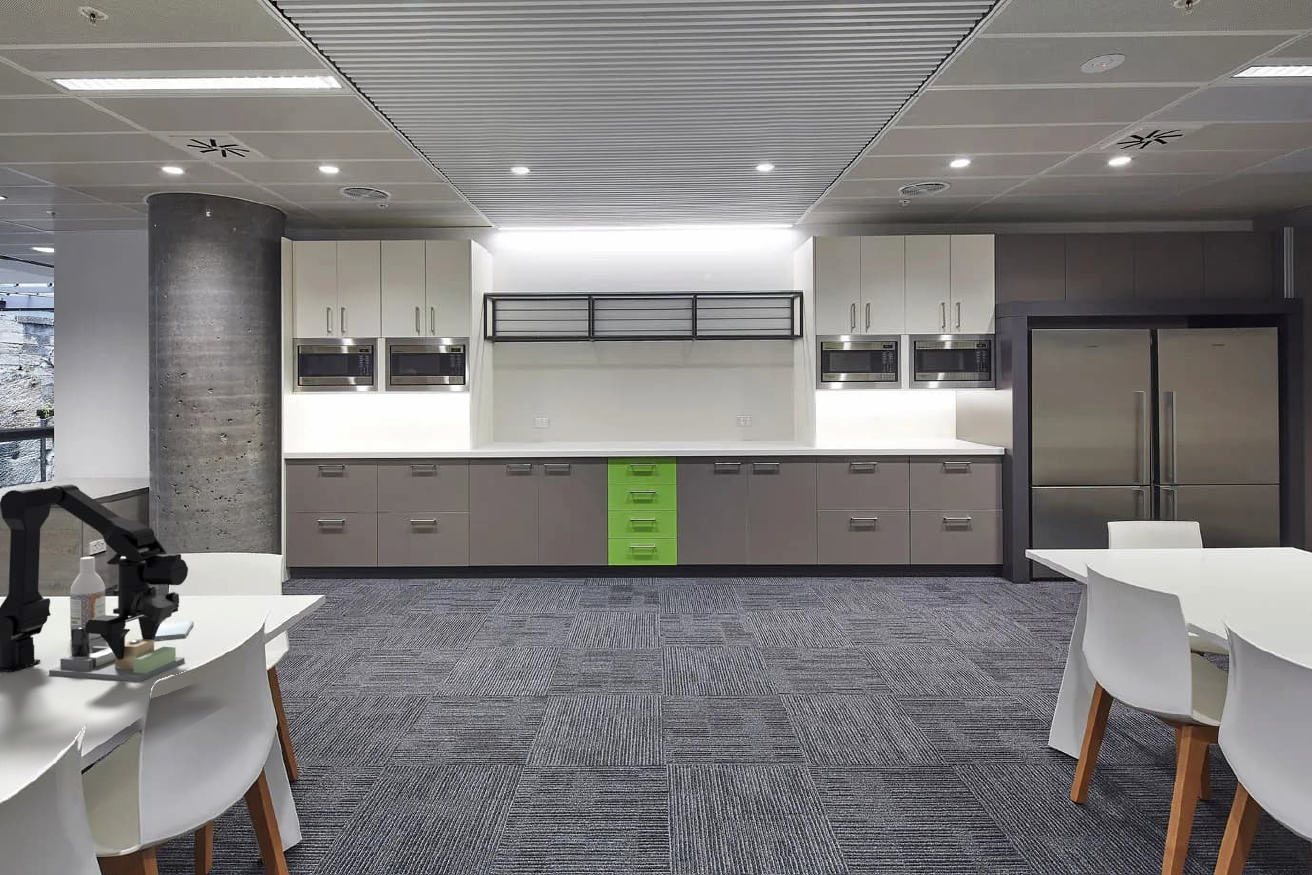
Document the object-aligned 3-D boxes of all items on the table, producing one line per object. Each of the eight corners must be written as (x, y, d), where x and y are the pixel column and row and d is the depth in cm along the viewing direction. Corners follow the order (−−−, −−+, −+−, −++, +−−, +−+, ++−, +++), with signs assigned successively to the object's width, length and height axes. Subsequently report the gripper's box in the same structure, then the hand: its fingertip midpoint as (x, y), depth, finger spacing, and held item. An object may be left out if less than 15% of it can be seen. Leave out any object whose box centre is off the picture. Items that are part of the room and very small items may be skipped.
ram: (61, 664, 159) (61, 631, 158) (86, 655, 164) (86, 623, 164) (96, 666, 157) (96, 633, 157) (120, 657, 163) (119, 625, 163)
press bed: (48, 674, 156) (48, 656, 155) (98, 656, 168) (98, 639, 167) (140, 681, 153) (140, 662, 153) (184, 661, 165) (184, 644, 165)
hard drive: (185, 633, 182) (193, 619, 193) (146, 637, 178) (157, 622, 190) (185, 640, 182) (193, 625, 193) (146, 643, 179) (157, 629, 190)
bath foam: (92, 641, 178) (91, 560, 177) (63, 640, 178) (62, 560, 177) (112, 632, 185) (111, 555, 184) (84, 632, 185) (83, 554, 184)
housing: (114, 668, 157) (114, 644, 157) (134, 660, 162) (133, 637, 162) (135, 669, 157) (135, 645, 157) (154, 661, 162) (154, 638, 162)
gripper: (130, 596, 149) (131, 671, 149) (199, 576, 167) (199, 642, 168) (82, 593, 150) (83, 667, 151) (156, 573, 169) (156, 639, 169)
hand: (134, 653), depth 160 cm, fingers open, 7 cm apart
